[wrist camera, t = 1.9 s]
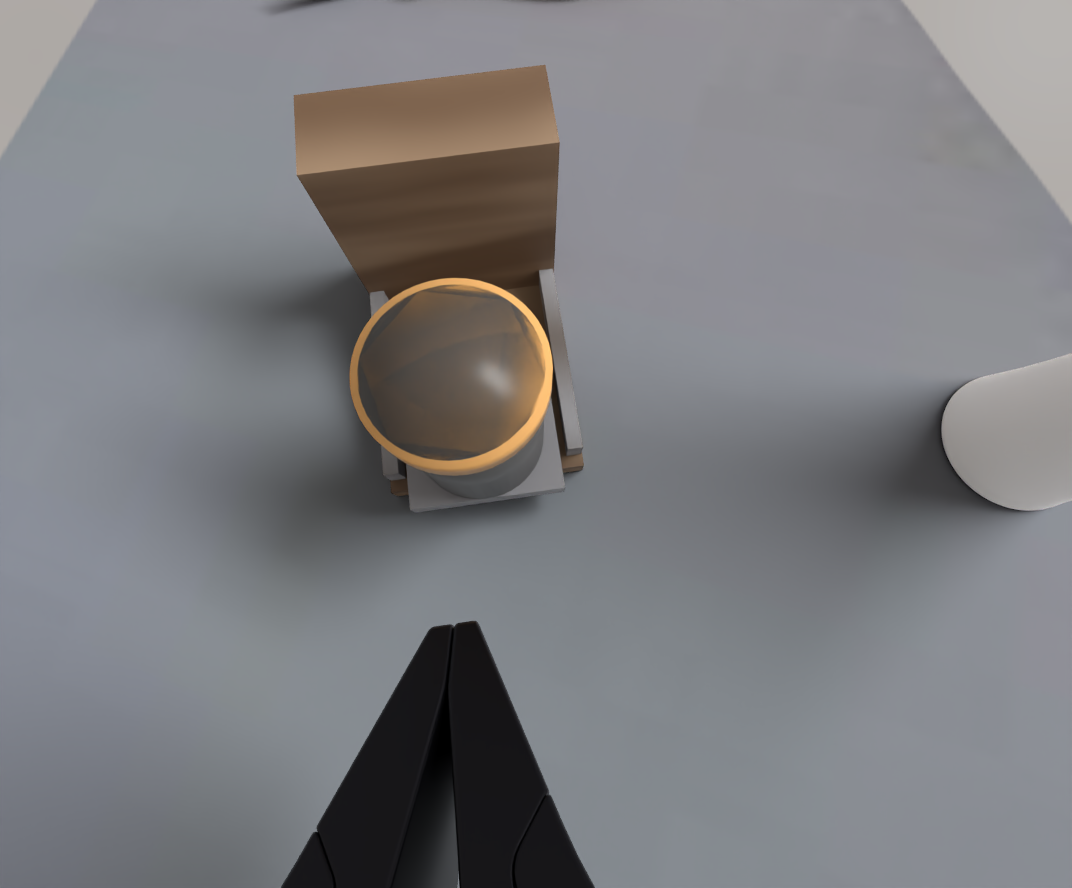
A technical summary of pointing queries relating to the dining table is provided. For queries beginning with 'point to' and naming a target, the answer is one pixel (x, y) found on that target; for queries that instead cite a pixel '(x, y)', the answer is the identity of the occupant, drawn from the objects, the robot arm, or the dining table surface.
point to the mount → (445, 198)
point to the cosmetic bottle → (1014, 435)
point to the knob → (460, 394)
